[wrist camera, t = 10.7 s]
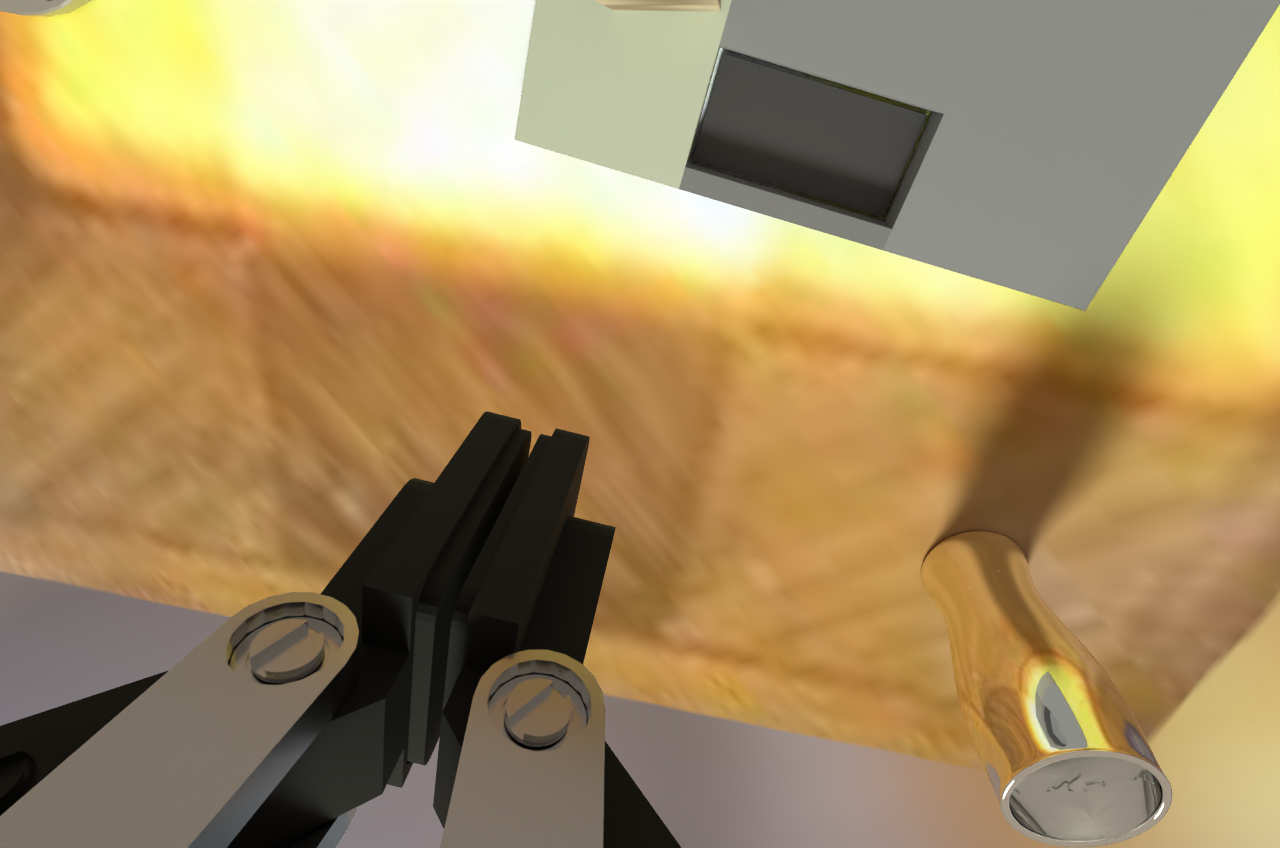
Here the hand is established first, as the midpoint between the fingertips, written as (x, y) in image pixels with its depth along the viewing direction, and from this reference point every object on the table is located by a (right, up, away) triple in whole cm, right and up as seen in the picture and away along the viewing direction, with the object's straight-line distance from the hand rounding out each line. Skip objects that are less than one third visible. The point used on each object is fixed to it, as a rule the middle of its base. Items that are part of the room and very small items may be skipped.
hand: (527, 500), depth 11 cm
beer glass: (+23, -8, +30) cm, 39 cm away
